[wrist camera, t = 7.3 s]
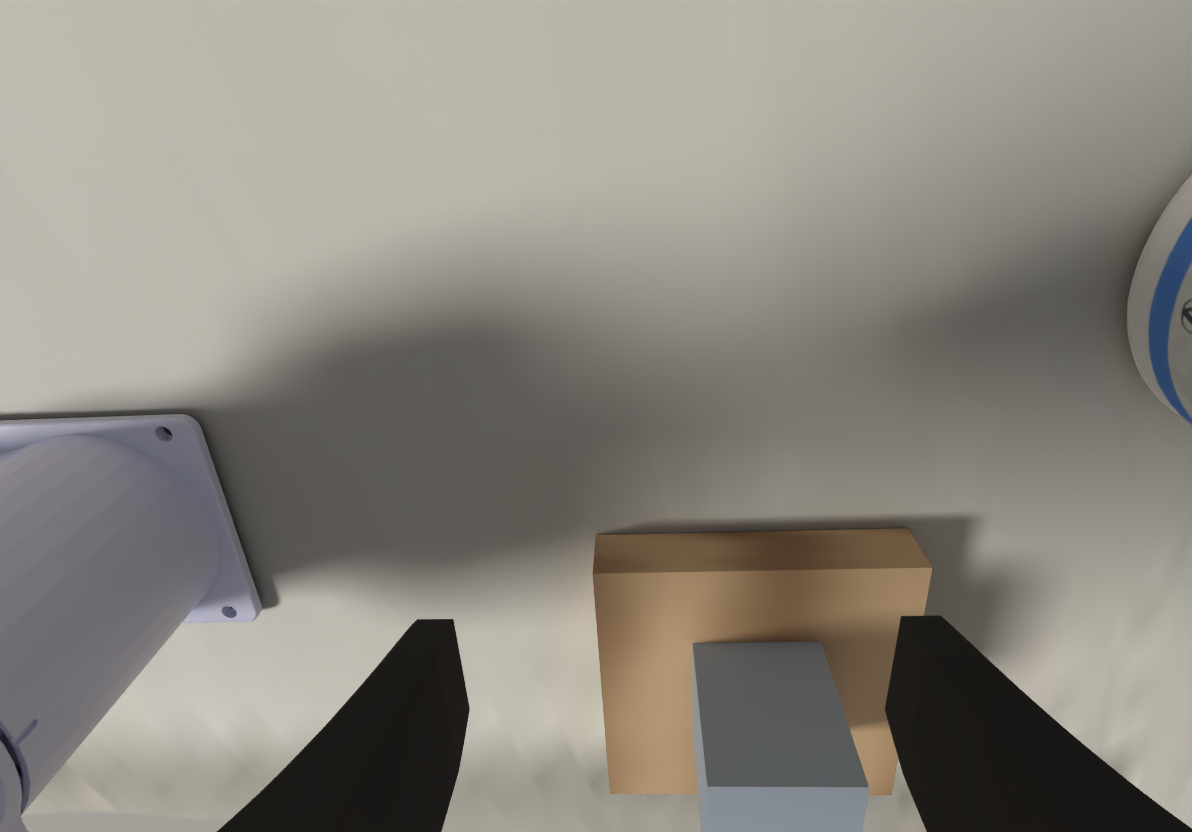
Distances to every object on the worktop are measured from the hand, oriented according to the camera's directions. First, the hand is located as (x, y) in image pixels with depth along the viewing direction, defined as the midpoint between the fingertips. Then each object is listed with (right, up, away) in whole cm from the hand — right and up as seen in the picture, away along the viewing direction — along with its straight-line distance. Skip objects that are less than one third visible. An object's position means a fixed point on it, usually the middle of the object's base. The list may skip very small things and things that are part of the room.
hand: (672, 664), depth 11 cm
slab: (+4, -4, +13) cm, 15 cm away
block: (+4, -5, +11) cm, 13 cm away
